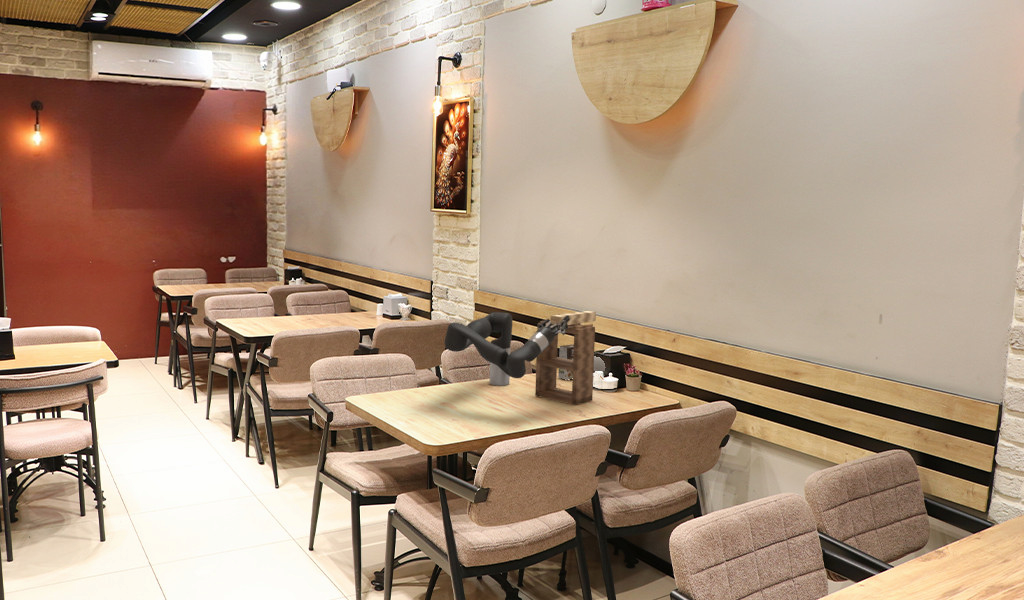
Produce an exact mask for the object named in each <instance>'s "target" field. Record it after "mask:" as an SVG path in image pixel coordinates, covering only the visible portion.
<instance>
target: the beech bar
mask: <svg viewBox="0 0 1024 600" xmlns="http://www.w3.org/2000/svg"><path fill="white" fill-rule="evenodd" d="M559 314H560V315H558V314H555V315H554V314H553V315H550V318H549V320H550V321H551V324H556V323H558V322H559V323H560V321H562V320H563V319H564V318H565V317H566V315H568V316H569V318H570V320H569V321H568V322H567V325H572V324H579V323H581V324H583V323H584V324H586V323H592V322H596V316H597V315H596V314H597V312H596V311H592V310H586V311H583V310H582V311H577V312H569V313H562V314H561V313H559ZM561 326H562V324H561ZM558 327H559V326H558Z"/></svg>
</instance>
